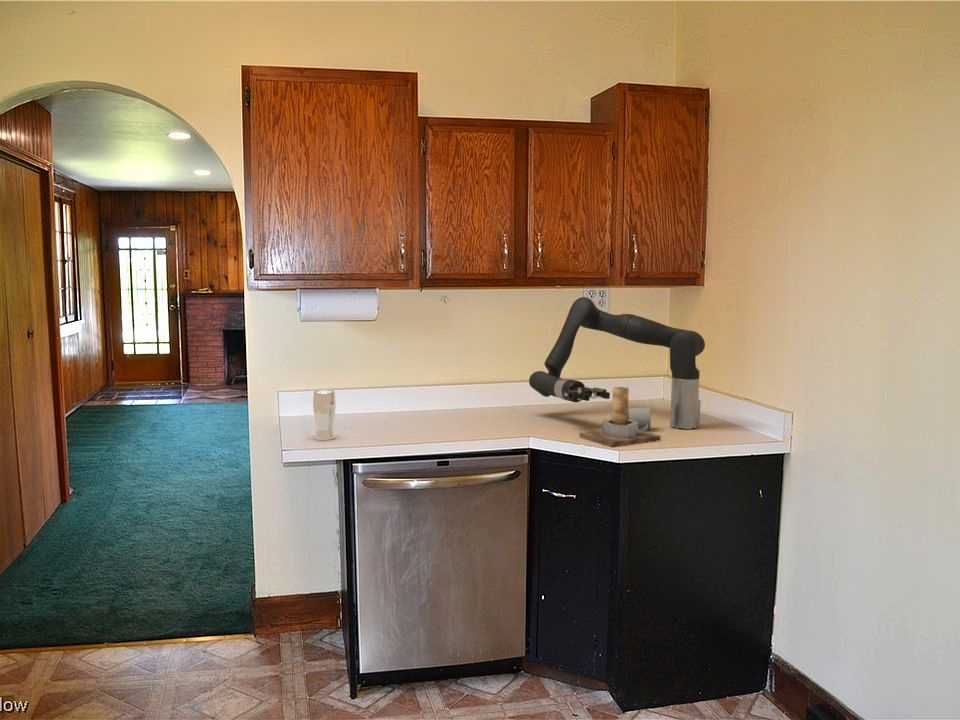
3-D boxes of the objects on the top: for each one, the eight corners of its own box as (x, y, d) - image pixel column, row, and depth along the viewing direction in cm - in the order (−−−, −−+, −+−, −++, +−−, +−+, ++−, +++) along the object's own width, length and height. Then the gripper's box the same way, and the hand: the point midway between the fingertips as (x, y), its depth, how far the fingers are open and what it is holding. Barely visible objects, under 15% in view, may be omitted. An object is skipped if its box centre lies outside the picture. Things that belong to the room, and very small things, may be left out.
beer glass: (315, 436, 256) (314, 390, 254) (337, 435, 256) (336, 390, 254) (312, 440, 249) (311, 393, 247) (334, 440, 249) (334, 393, 248)
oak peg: (620, 431, 258) (621, 386, 256) (630, 434, 254) (632, 388, 252) (608, 433, 256) (609, 387, 254) (618, 436, 251) (619, 389, 250)
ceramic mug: (625, 426, 274) (626, 404, 273) (650, 427, 273) (650, 405, 272) (626, 433, 264) (627, 411, 263) (651, 434, 263) (652, 411, 262)
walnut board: (627, 431, 267) (627, 426, 267) (660, 440, 253) (660, 435, 253) (579, 437, 257) (579, 432, 257) (611, 447, 243) (611, 442, 243)
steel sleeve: (621, 429, 262) (622, 417, 262) (644, 435, 253) (645, 423, 252) (595, 432, 257) (595, 420, 256) (617, 439, 247) (618, 426, 247)
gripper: (553, 380, 273) (582, 387, 259) (586, 378, 280) (615, 384, 266) (552, 402, 274) (581, 409, 260) (585, 399, 281) (615, 406, 267)
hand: (598, 396), depth 263 cm, fingers open, 8 cm apart
